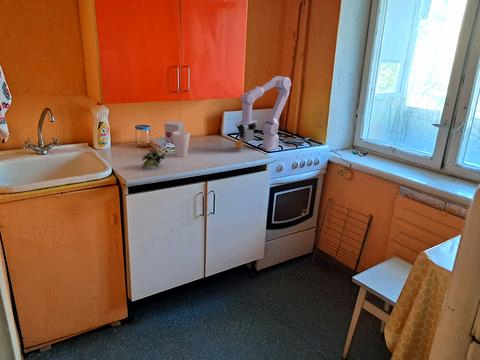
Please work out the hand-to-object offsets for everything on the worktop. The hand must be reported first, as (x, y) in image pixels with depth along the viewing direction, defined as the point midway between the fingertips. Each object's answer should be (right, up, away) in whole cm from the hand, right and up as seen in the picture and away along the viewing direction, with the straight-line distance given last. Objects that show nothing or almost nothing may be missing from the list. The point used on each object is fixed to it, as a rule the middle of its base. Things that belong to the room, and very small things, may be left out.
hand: (245, 136), depth 227 cm
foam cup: (-37, -12, -11) cm, 40 cm away
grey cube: (0, -2, 0) cm, 2 cm away
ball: (-4, -4, +6) cm, 9 cm away
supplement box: (-44, -6, +5) cm, 44 cm away
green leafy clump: (-47, -20, -33) cm, 61 cm away
